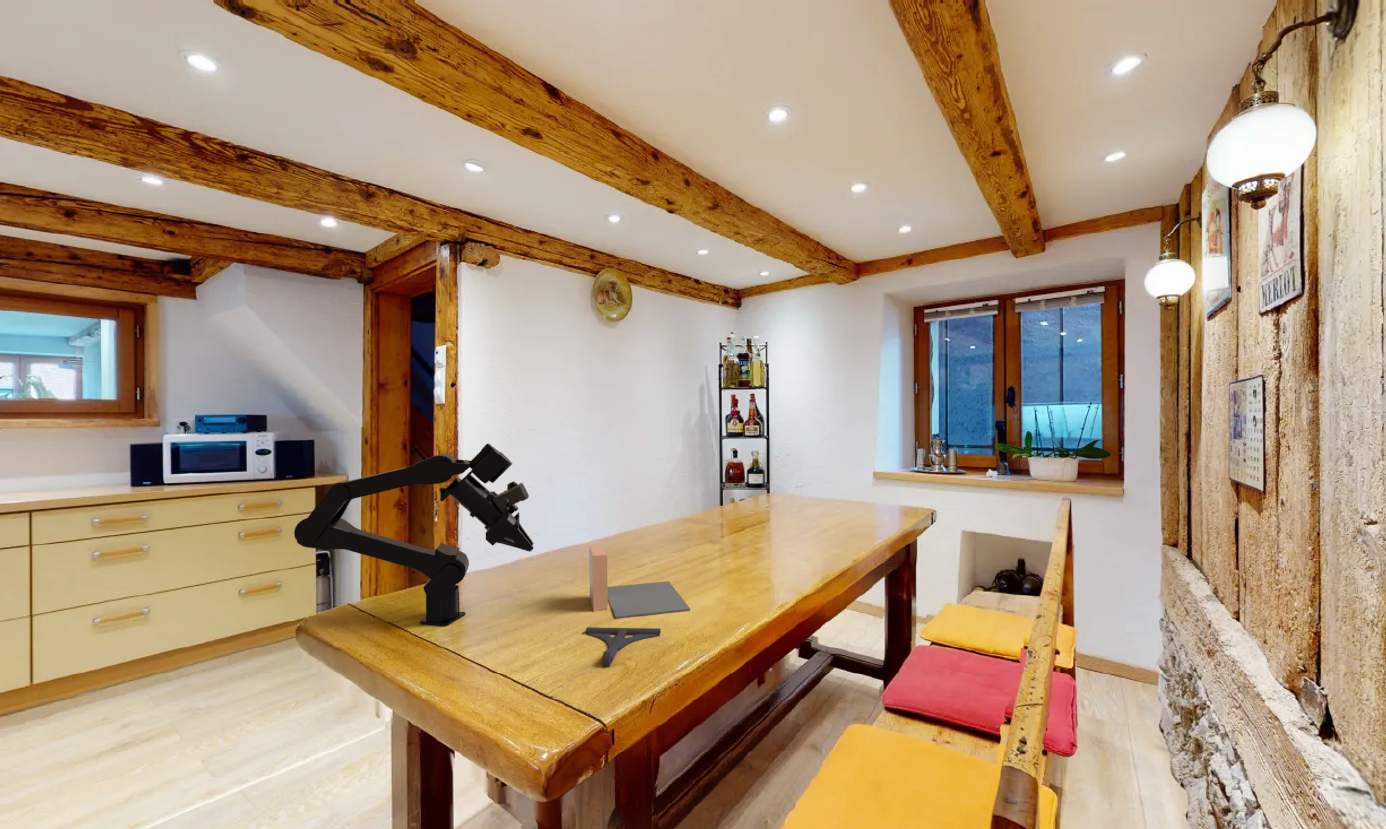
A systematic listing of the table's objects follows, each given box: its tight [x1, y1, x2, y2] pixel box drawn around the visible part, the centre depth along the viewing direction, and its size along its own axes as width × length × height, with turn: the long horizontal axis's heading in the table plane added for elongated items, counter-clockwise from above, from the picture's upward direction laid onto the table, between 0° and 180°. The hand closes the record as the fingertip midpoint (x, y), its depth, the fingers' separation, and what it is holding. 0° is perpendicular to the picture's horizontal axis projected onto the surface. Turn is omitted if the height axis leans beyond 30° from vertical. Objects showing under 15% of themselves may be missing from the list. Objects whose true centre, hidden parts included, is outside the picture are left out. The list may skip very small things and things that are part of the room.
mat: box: [607, 580, 691, 619], centre depth 127 cm, size 16×20×1 cm
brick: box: [588, 544, 609, 613], centre depth 124 cm, size 3×9×12 cm, turn 16°
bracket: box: [585, 626, 662, 668], centre depth 101 cm, size 14×15×3 cm
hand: (532, 547), depth 120 cm, fingers open, 4 cm apart
